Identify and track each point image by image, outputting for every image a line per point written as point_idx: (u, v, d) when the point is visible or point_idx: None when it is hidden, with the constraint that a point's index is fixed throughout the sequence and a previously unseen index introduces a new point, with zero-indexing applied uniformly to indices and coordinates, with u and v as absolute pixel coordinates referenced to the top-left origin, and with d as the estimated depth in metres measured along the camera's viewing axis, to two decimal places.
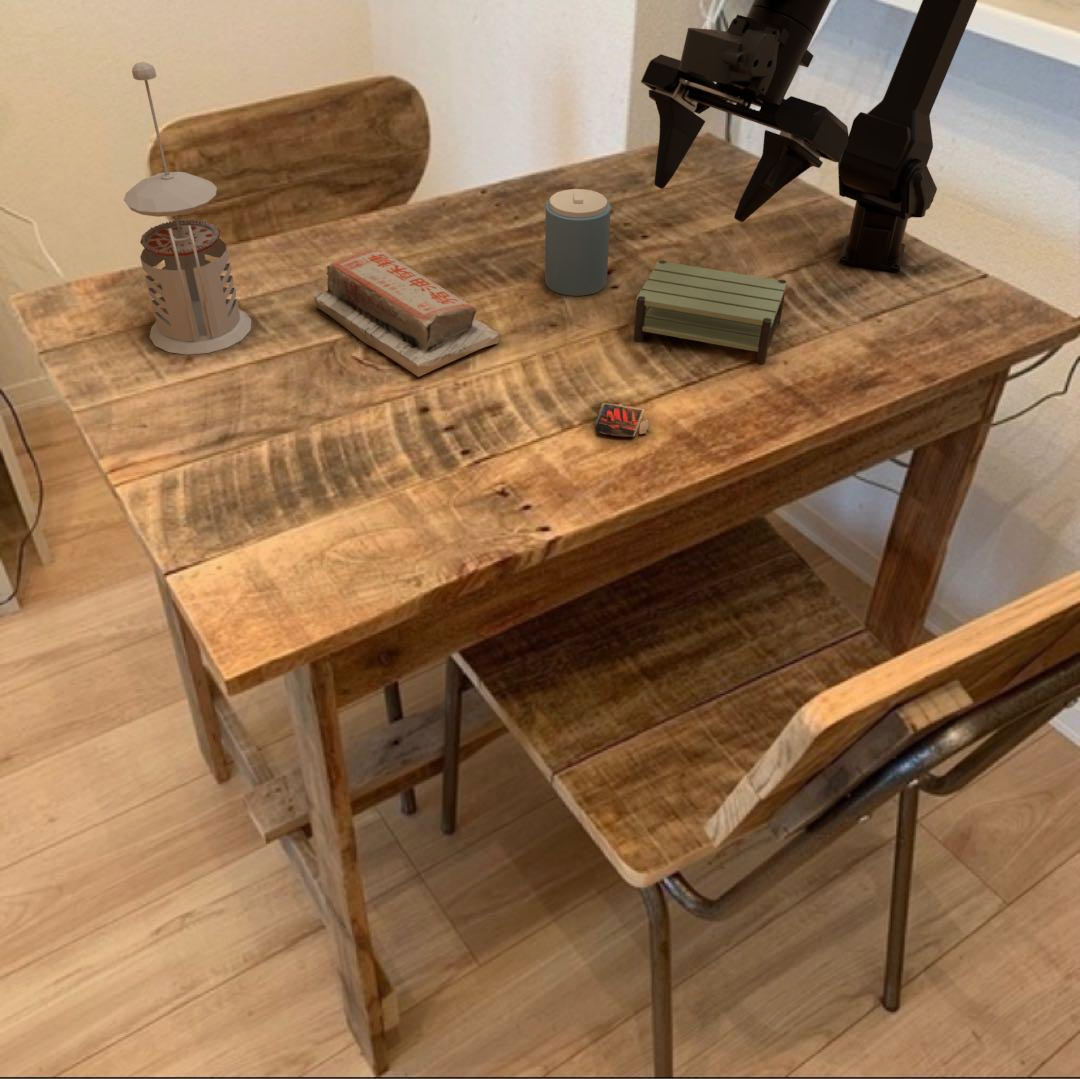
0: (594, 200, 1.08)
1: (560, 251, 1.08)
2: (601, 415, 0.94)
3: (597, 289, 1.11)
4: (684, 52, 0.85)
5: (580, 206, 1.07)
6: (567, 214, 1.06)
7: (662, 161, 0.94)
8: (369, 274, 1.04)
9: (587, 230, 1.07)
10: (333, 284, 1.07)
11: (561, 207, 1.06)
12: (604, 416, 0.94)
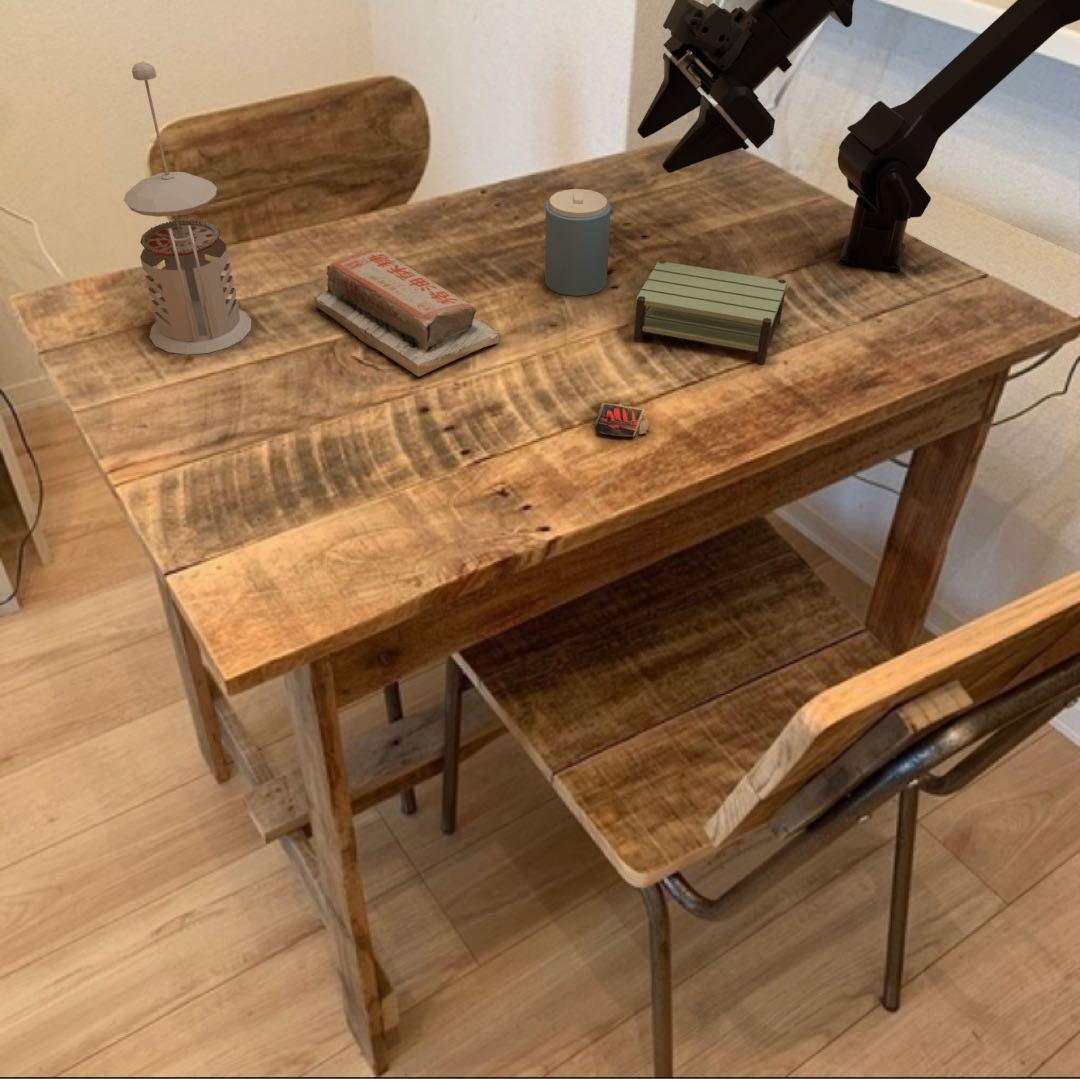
0: (594, 200, 1.08)
1: (560, 251, 1.08)
2: (601, 415, 0.94)
3: (597, 289, 1.11)
4: None
5: (580, 206, 1.07)
6: (567, 214, 1.06)
7: (649, 113, 1.08)
8: (369, 274, 1.04)
9: (587, 230, 1.07)
10: (333, 284, 1.07)
11: (561, 207, 1.06)
12: (604, 416, 0.94)
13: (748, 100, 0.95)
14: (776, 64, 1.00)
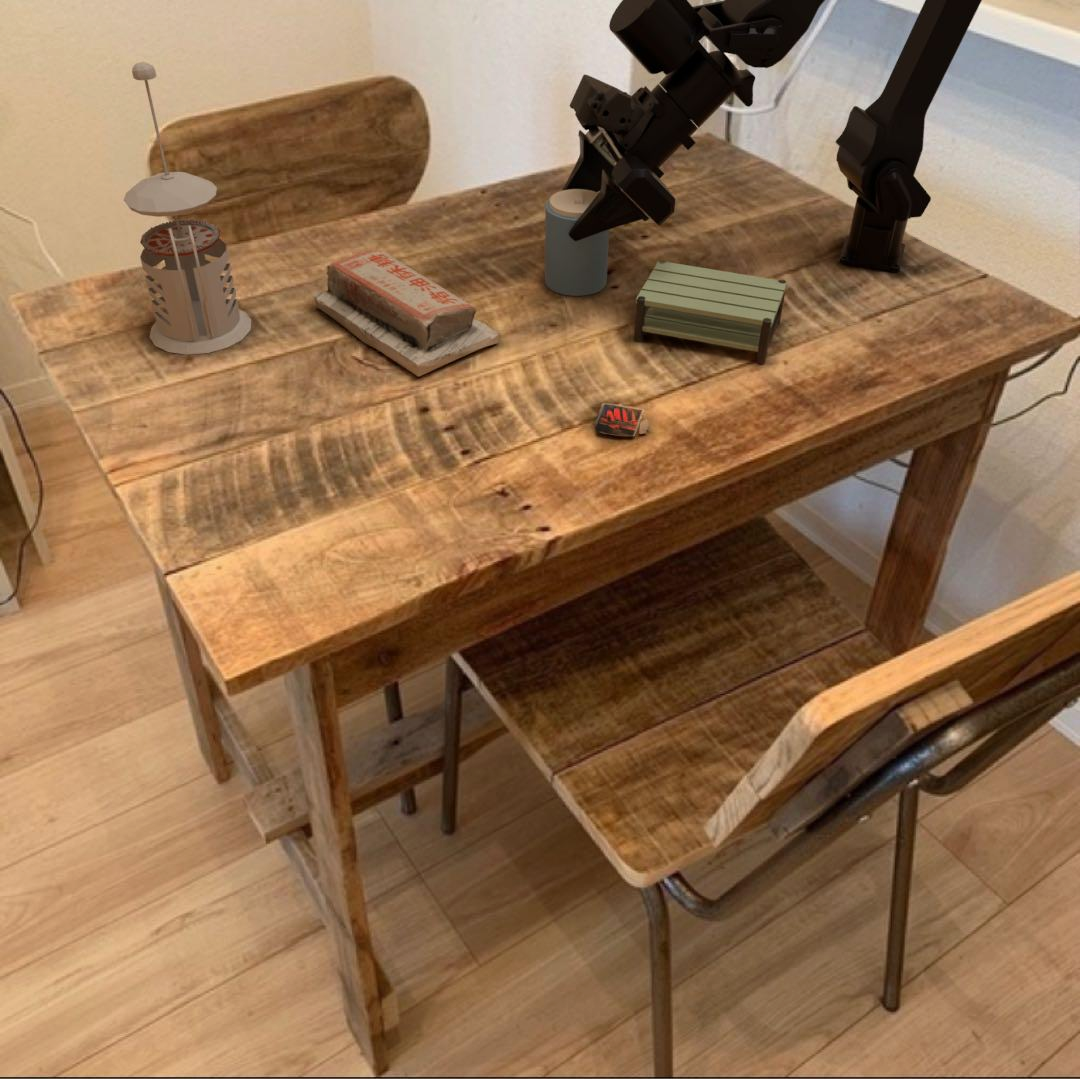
0: None
1: (560, 251, 1.08)
2: (601, 415, 0.94)
3: (597, 289, 1.11)
4: (575, 92, 1.02)
5: (580, 206, 1.07)
6: (567, 214, 1.06)
7: (565, 189, 1.10)
8: (369, 274, 1.04)
9: None
10: (333, 284, 1.07)
11: (561, 207, 1.06)
12: (604, 416, 0.94)
13: (647, 181, 0.98)
14: (680, 142, 1.03)
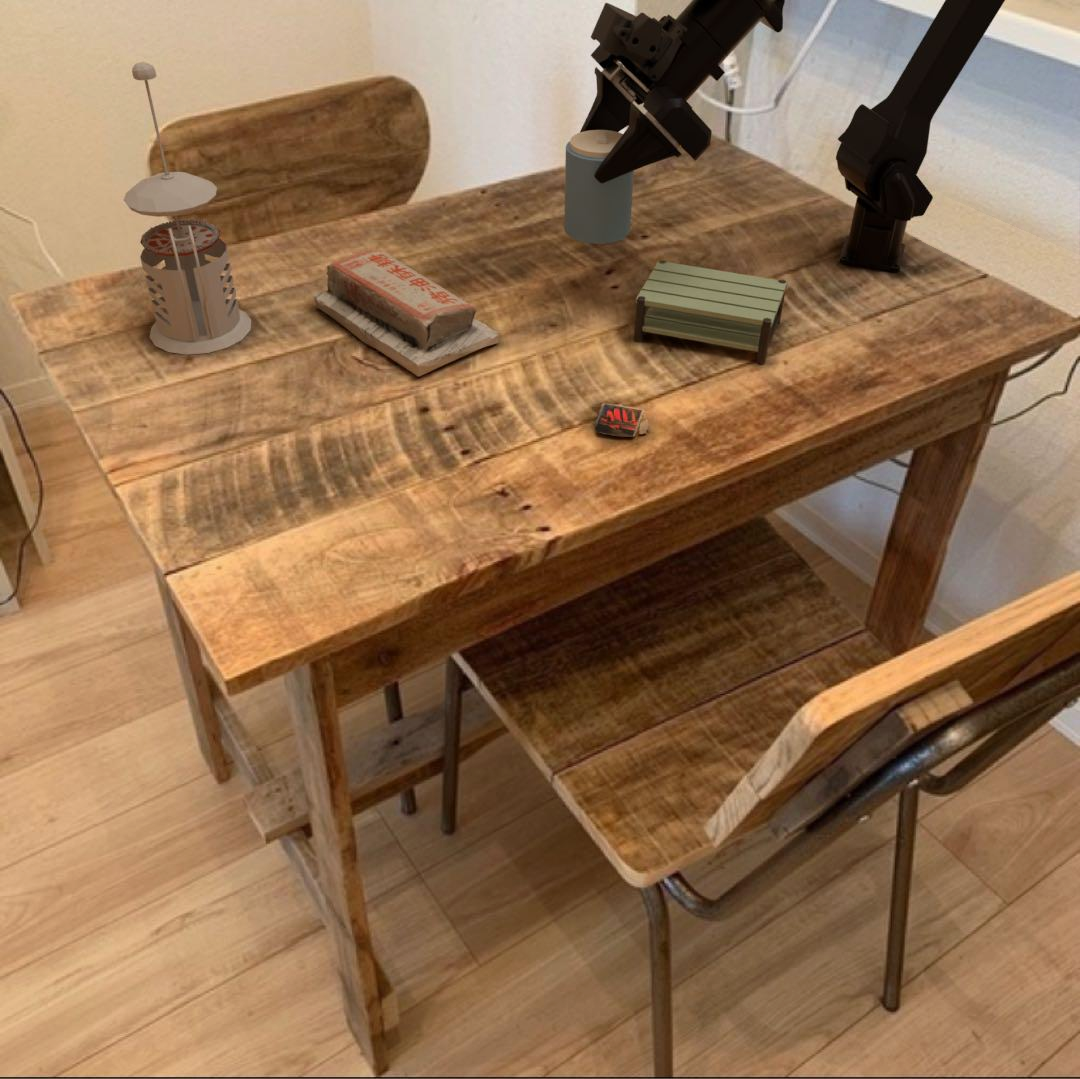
0: (617, 140, 1.01)
1: (584, 196, 1.02)
2: (601, 415, 0.94)
3: (622, 236, 1.05)
4: (597, 22, 0.96)
5: (604, 146, 1.00)
6: (591, 155, 1.00)
7: (583, 130, 1.04)
8: (369, 274, 1.04)
9: None
10: (333, 284, 1.07)
11: (584, 148, 1.00)
12: (604, 416, 0.94)
13: (684, 112, 0.92)
14: (708, 72, 0.98)
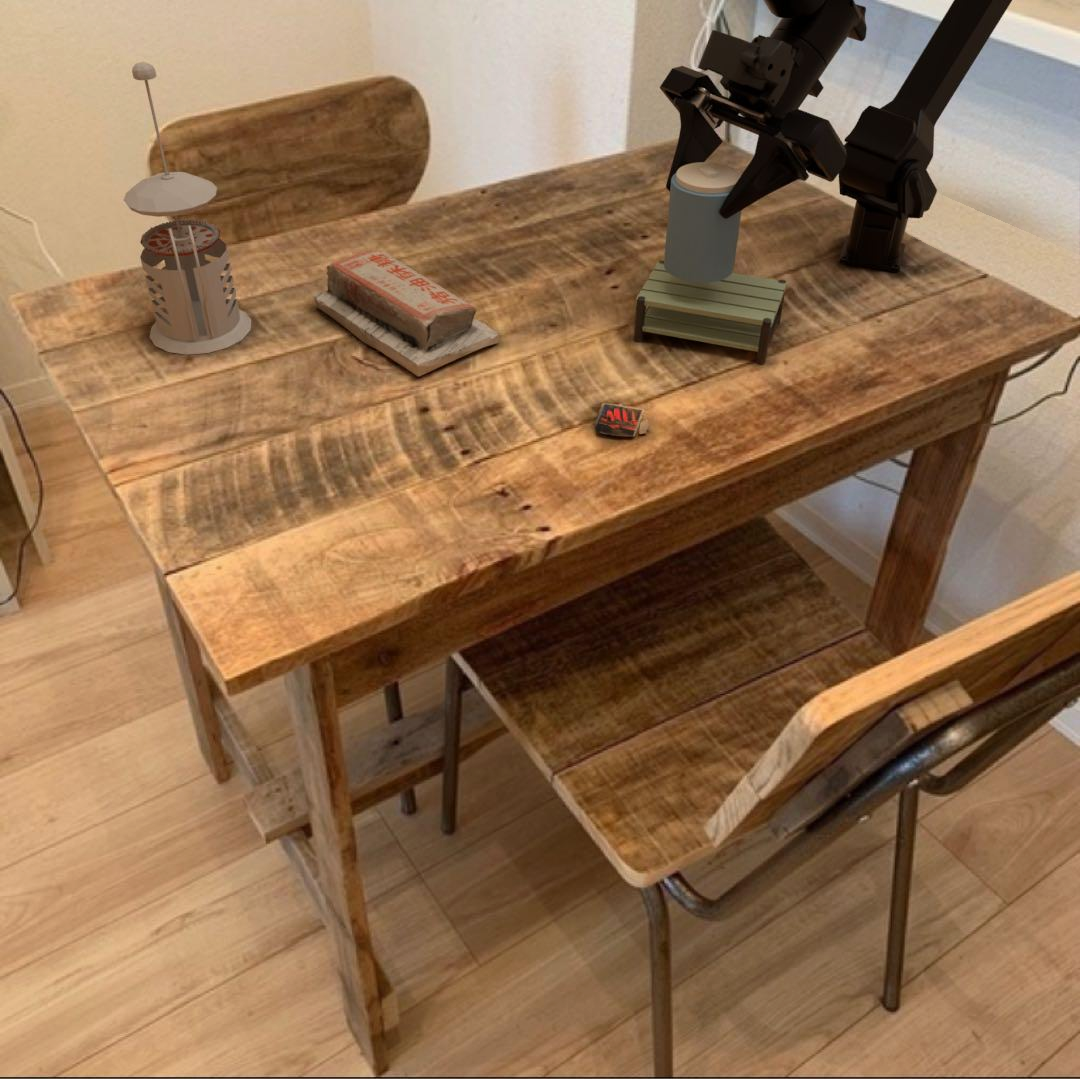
0: (724, 171, 0.96)
1: (704, 234, 0.96)
2: (601, 415, 0.94)
3: (733, 269, 1.00)
4: (705, 51, 0.90)
5: (719, 180, 0.95)
6: (714, 191, 0.94)
7: (677, 165, 0.98)
8: (369, 274, 1.04)
9: None
10: (333, 284, 1.07)
11: (703, 184, 0.94)
12: (604, 416, 0.94)
13: (831, 134, 0.88)
14: (811, 90, 0.95)
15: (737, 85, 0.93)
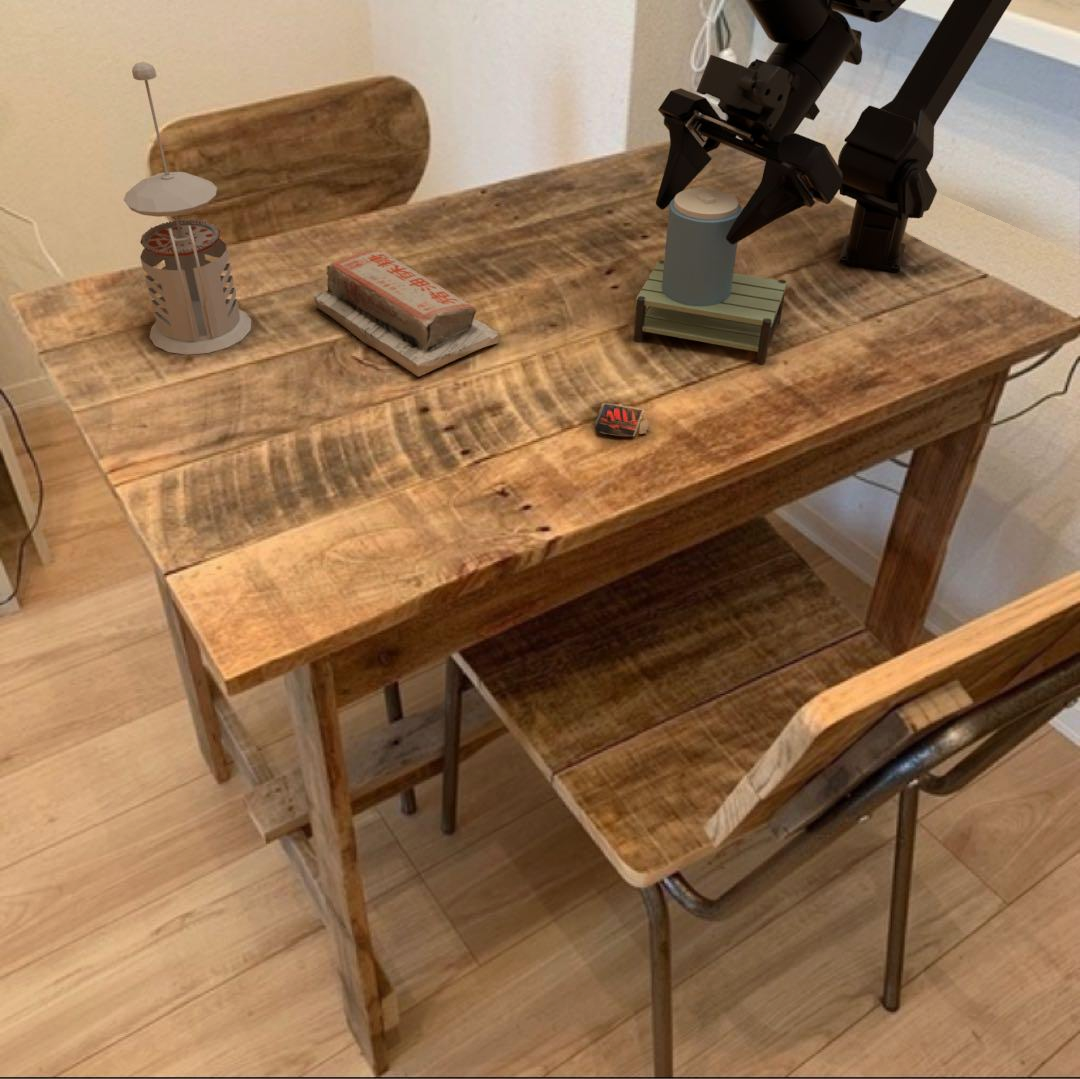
0: (721, 197, 0.98)
1: (702, 259, 0.97)
2: (601, 415, 0.94)
3: (730, 292, 1.02)
4: (703, 75, 0.91)
5: (717, 206, 0.96)
6: (711, 217, 0.95)
7: (666, 183, 0.99)
8: (369, 274, 1.04)
9: None
10: (333, 284, 1.07)
11: (700, 211, 0.95)
12: (604, 416, 0.94)
13: (828, 158, 0.90)
14: (807, 113, 0.96)
15: (735, 108, 0.95)
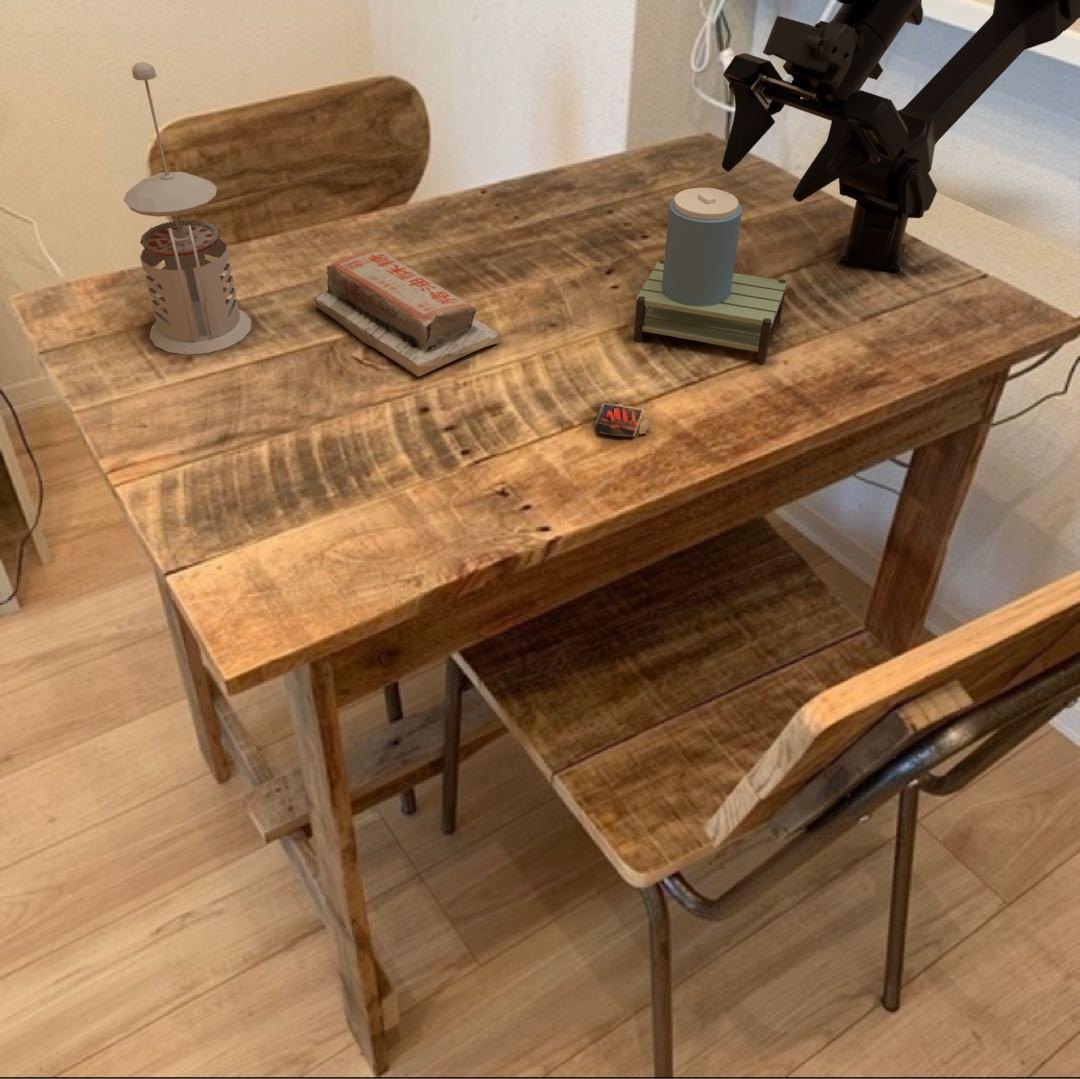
0: (721, 197, 0.98)
1: (702, 259, 0.97)
2: (601, 415, 0.94)
3: (730, 292, 1.02)
4: (770, 36, 0.94)
5: (717, 206, 0.96)
6: (711, 217, 0.95)
7: (732, 145, 1.02)
8: (369, 274, 1.04)
9: (731, 230, 0.96)
10: (333, 284, 1.07)
11: (700, 211, 0.95)
12: (604, 416, 0.94)
13: (894, 113, 0.92)
14: (871, 72, 0.98)
15: (800, 69, 0.97)
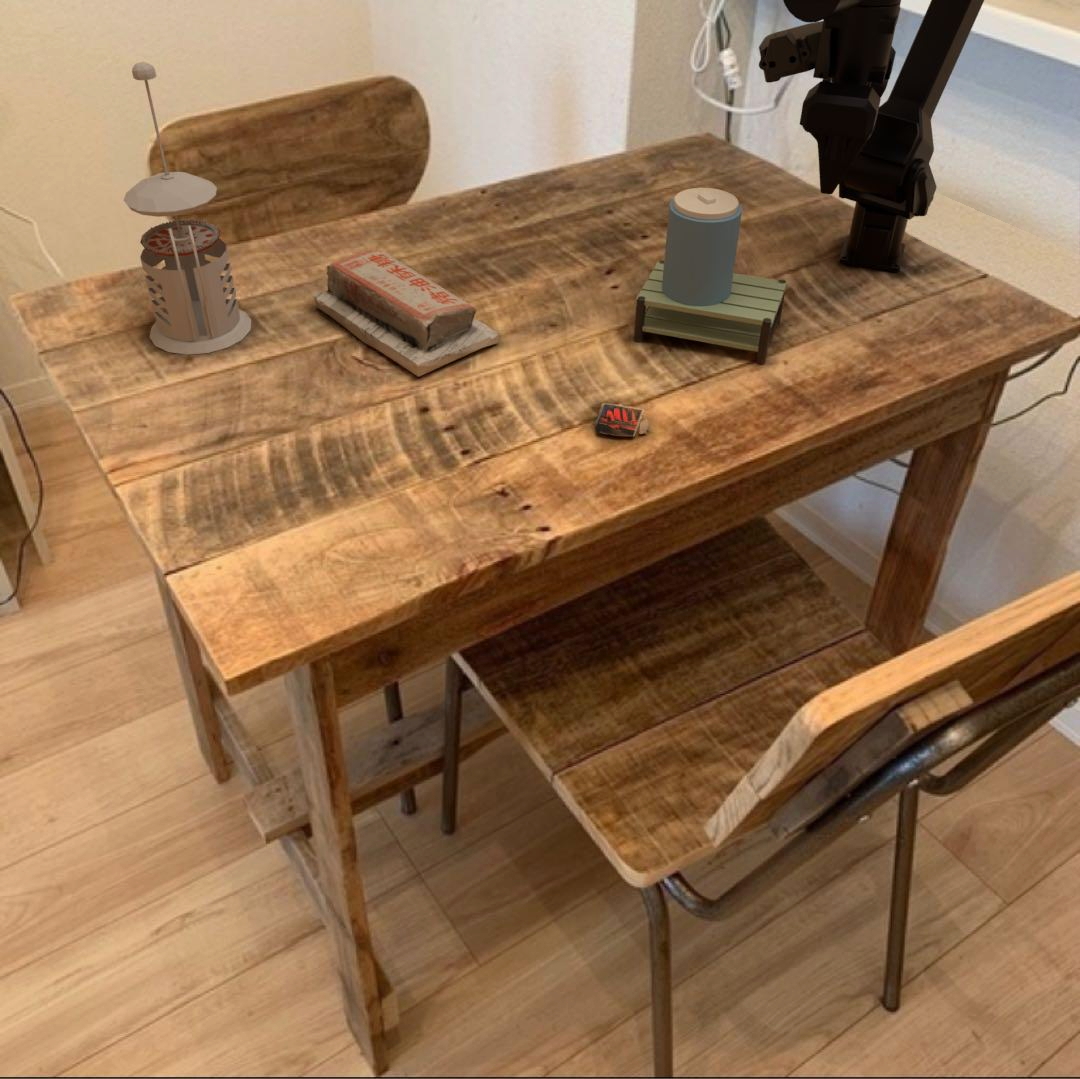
0: (721, 197, 0.98)
1: (702, 259, 0.97)
2: (601, 415, 0.94)
3: (730, 292, 1.02)
4: None
5: (717, 206, 0.96)
6: (711, 217, 0.95)
7: None
8: (369, 274, 1.04)
9: (731, 230, 0.96)
10: (333, 284, 1.07)
11: (700, 211, 0.95)
12: (604, 416, 0.94)
13: (822, 104, 0.90)
14: (879, 33, 0.92)
15: None
